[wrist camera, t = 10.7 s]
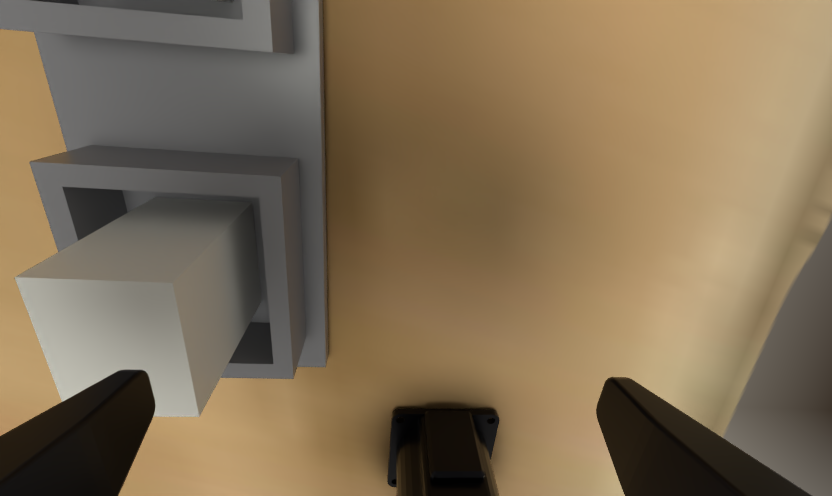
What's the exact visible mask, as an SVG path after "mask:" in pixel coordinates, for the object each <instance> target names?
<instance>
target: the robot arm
mask: <svg viewBox="0 0 832 496" xmlns="http://www.w3.org/2000/svg"><path fill="white" fill-rule="evenodd" d="M154 412H155V399H154V395H153V391H152V387H151V383H150V379H149V376H148V373H147V372H146V371H144V370H131V369H124V370H119V371H117V372H115V373H113V374H112V375H110V376H108V377H106V378H104V379H103V380H101V381H99V382H97V383H95V384H93V385H92V386H90V387H88V388H86V389H84V390H83V391H81V392H79V393H77V394H75V395H74V396H72V397H70V398H68V399H66V400H65V401H63V402H61V403H59V404H57V405H56V406H54V407H52V408H50V409H48V410H47V411H45V412H43V413H41V414H39V415H38V416H36V417H34V418H32V419H30V420H29V421H27V422H25V423H23V424H21V425H19V426H18V427H16V428H14V429H12V430H10V431H9V432H7V433H5V434H3V435H1V436H0V496H118V495H119V493H120V491H121V488H122V486H123V484H124V482H125V480H126V477H127V475H128V473H129V470H130V468H131V466H132V464H133V461H134V459H135V457H136V455H137V452H138V450H139V448H140V445H141V443H142V441H143V439H144V436H145V434H146V432H147V430H148V427H149V425H150V423H151V420H152V418H153V416H154ZM596 414H597V419H598V422H599V425H600V428H601V430H602V433H603V436H604V439H605V442H606V445H607V447H608V450H609V453H610V456H611V459H612V462H613V464H614V467H615V470H616V473H617V476H618V478H619V481H620V484H621V486H622V489H623V492H624V494H625V496H812V495H811V494H809V493H807V492H806V491H804V490H803V489H801V488H800V487H798V486H796V485H795V484H793V483H792V482H790V481H789V480H787V479H786V478H784V477H782V476H781V475H779V474H778V473H776V472H775V471H773V470H772V469H770V468H769V467H767V466H765V465H764V464H762V463H761V462H759V461H758V460H756V459H754V458H753V457H751V456H750V455H748V454H747V453H745V452H744V451H742V450H740V449H739V448H737V447H736V446H734V445H733V444H731V443H730V442H728V441H727V440H725V439H724V438H722V437H720V436H719V435H717V434H716V433H714V432H713V431H711V430H710V429H708V428H706V427H705V426H703V425H702V424H700V423H699V422H697V421H696V420H694V419H692V418H691V417H689V416H688V415H686V414H685V413H683V412H682V411H680V410H678V409H677V408H675V407H674V406H672V405H671V404H669V403H668V402H666V401H664V400H663V399H661V398H660V397H658V396H657V395H655V394H654V393H652V392H650V391H649V390H647V389H646V388H644V387H643V386H641V385H640V384H638V383H636V382H635V381H633V380H632V379H630V378H626V377H610V378H608V379H607V380H606V381H605V384H604V387H603V390H602V392H601V395H600V398H599V401H598V404H597V409H596ZM398 417H402V418H398ZM489 418H490V419H489ZM498 424H499V417H498V413H497V412H496V411H495V410H486V409H397V410H395V411H394V412H393V413H392V421H391V435H390V449H389V463H388V484H389V485H390V486H392V487H397V496H499V492H498V488H497V485H496V481H495V477H494V473H493V469H492V465H491V461H490V460H491V455H492V451H493V446H494V442H495V437H496V433H497V428H498Z"/></svg>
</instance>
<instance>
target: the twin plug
mask: <svg viewBox="0 0 832 496" xmlns="http://www.w3.org/2000/svg"><path fill="white" fill-rule="evenodd" d="M15 280H16V282H17V285H18V288H19V290H20V293H21V295H22V298H23V301H24V303H25V306H26V308H27V311H28V314H29V316H30V319H31V321H32V324H33V327H34V329H35V332H36V334H37V337H38V340H39V342H40V345H41V348H42V350H43V353H44V355H45V358H46V361H47V363H48V366H49V368H50V371H51V374H52V376H53V379H54V381H55V384H56V387H57V389H58V392H59V394H60V397H61V400H62V402H63V401H65V400H66V399H68V398H70V397H72V396H74V395H75V394H77V393H79V392H81V391H83V390H84V389H86V388H88V387H90V386H92V385H93V384H95V383H97V382H99V381H101V380H103V379H104V378H106V377H108V376H110V375H112V374H113V373H115V372H117V371H119V370H124V369H131V370H144V371H146V372H147V373H148V376H149V379H150V383H151V387H152V391H153V395H154V399H155V412H154V416H158V417H199V416H200V415H201V413H202V411H203V409H204V407H205V405H206V403H207V402H208V400H209V398H210V396H211V394H212V392H213V390H214V389H215V387H216V385H217V383H218V381H219V379H220V377H221V376H222V374H223V372H224V370H225V368H226V366H227V364H228V363H229V361H230V359H231V357H232V355H233V353H234V351H235V350H236V348H237V346H238V344H239V342H240V340H241V338H242V337H243V335H244V333H245V331H246V329H247V327H248V325H249V324H250V322H251V320H252V318H253V316H254V314H255V312H256V310H257V309H258V307H259V305H260V303H261V290H260V280H259V269H258V259H257V248H256V238H255V228H254V217H253V207H252V202H233V201H215V200H196V199H177V198H159V197H154V198H153V199H151V200H149V201H147V202H146V203H144V204H142V205H140V206H139V207H137V208H135V209H133V210H132V211H130V212H128V213H126V214H125V215H123V216H121V217H119V218H118V219H116V220H114V221H112V222H111V223H109V224H107V225H105V226H104V227H102V228H100V229H98V230H97V231H95V232H93V233H91V234H90V235H88V236H86V237H84V238H82V239H81V240H79V241H77V242H75V243H74V244H72V245H70V246H68V247H67V248H65V249H63V250H61V251H60V252H58V253H56V254H54V255H53V256H51V257H49V258H47V259H46V260H44V261H42V262H40V263H39V264H37V265H35V266H33V267H32V268H30V269H28V270H26V271H25V272H23V273H21V274H19V275H18V276H16V277H15Z"/></svg>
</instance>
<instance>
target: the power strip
mask: <svg viewBox="0 0 832 496" xmlns="http://www.w3.org/2000/svg"><path fill="white" fill-rule="evenodd" d="M0 29H7V30H18V31H29V32H34V34H35V37H36V41H37V45H38V48H39V52H40V55H41V59H42V62H43V66H44V70H45V73H46V77H47V80H48V84H49V87H50V91H51V95H52V98H53V102H54V105H55V109H56V112H57V116H58V120H59V123H60V127H61V130H62V134H63V137H64V141H65V145H66V148H67V152H63V153H59V154H56V155H52V156H48V157H45V158H41V159H37V160H34V161H30V166H31V169H32V172H33V175H34V178H35V181H36V184H37V187H38V190H39V193H40V197H41V200H42V203H43V206H44V209H45V212H46V215H47V218H48V221H49V225H50V228H51V231H52V234H53V237H54V240H55V243H56V246H57V249H58V252H60V251H61V250H63V249H65V248H67V247H68V246H70V245H72V244H74V243H75V242H77V241H79V240H81V239H82V238H84V237H86V236H88V235H90V234H91V233H93V232H95V231H97V230H98V229H100V228H102V227H104V226H105V225H107V224H109V223H111V222H112V221H114V220H116V219H118V218H119V217H121V216H123V215H125V214H126V213H128V212H130V211H132V210H133V209H135V208H137V207H139V206H140V205H142V204H144V203H146V202H147V201H149V200H151V199H153V198H154V197H159V198H177V199H196V200H215V201H233V202H252V207H253V217H254V228H255V238H256V248H257V259H258V269H259V280H260V290H261V303H260V305H259V307H258V309H257V310H256V312H255V314H254V316H253V318H252V320H251V322H250V324H249V325H248V327H247V329H246V331H245V333H244V335H243V337H242V338H241V340H240V342H239V344H238V346H237V348H236V350H235V351H234V353H233V355H232V357H231V359H230V361H229V363H228V364H227V366H226V368H225V370H224V372H223V374H222V376H221V377H220V378H273V379H294V375H295V372H296V369H297V367H326V364H327V359H328V303H327V240H326V178H325V116H324V54H323V0H233V2H226V1H218V0H0Z"/></svg>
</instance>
